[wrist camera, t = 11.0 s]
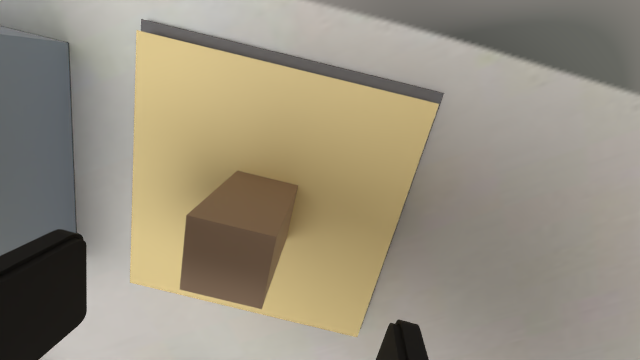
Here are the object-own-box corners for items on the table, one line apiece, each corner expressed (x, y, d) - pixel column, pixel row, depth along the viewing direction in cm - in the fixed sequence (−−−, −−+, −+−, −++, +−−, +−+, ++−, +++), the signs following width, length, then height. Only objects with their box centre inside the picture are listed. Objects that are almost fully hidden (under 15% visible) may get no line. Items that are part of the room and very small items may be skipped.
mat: (441, 92, 14) (443, 93, 14) (360, 323, 19) (360, 328, 18) (146, 20, 14) (141, 19, 14) (137, 270, 19) (133, 274, 18)
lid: (432, 102, 14) (494, 119, 8) (356, 323, 18) (362, 435, 13) (150, 33, 14) (17, 2, 8) (141, 271, 18) (49, 360, 12)
